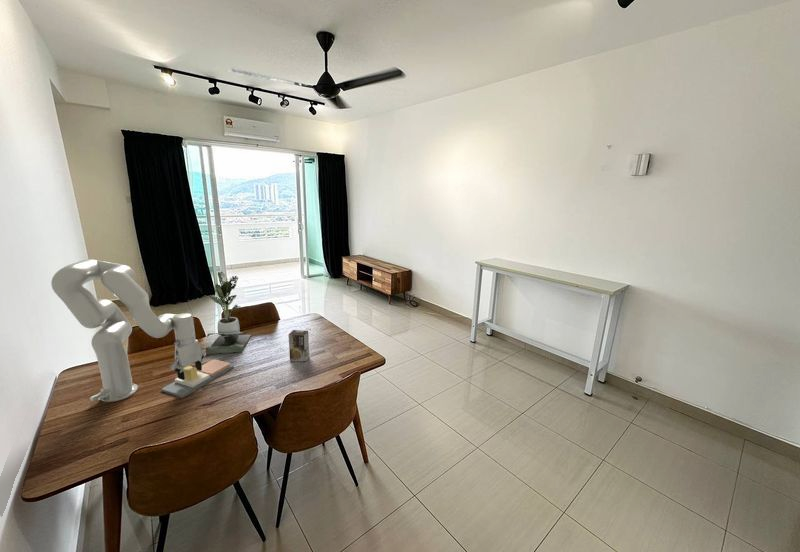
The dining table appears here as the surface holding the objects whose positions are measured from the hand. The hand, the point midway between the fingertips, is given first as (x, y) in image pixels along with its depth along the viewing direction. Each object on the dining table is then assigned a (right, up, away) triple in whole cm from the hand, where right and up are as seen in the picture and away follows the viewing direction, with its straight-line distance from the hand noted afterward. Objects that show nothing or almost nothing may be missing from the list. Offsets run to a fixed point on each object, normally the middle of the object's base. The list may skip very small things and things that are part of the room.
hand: (190, 374), depth 149 cm
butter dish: (0, -3, +2) cm, 4 cm away
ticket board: (+1, -4, +5) cm, 7 cm away
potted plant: (-3, +5, +41) cm, 41 cm away
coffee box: (+43, 0, +28) cm, 51 cm away
